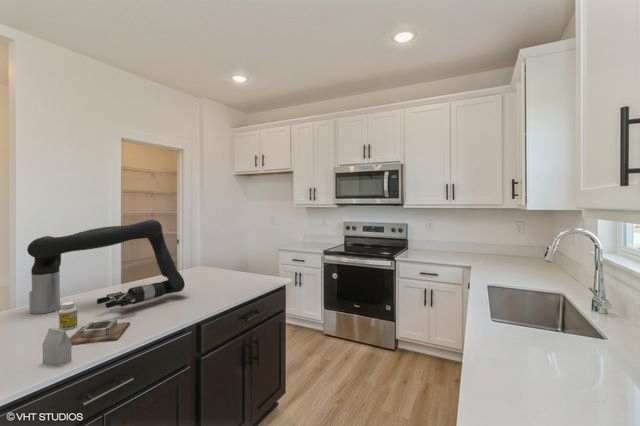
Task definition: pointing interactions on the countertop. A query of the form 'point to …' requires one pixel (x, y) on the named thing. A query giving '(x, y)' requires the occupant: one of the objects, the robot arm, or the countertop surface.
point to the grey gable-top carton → (56, 347)
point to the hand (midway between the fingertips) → (101, 303)
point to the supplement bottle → (68, 316)
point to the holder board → (99, 332)
